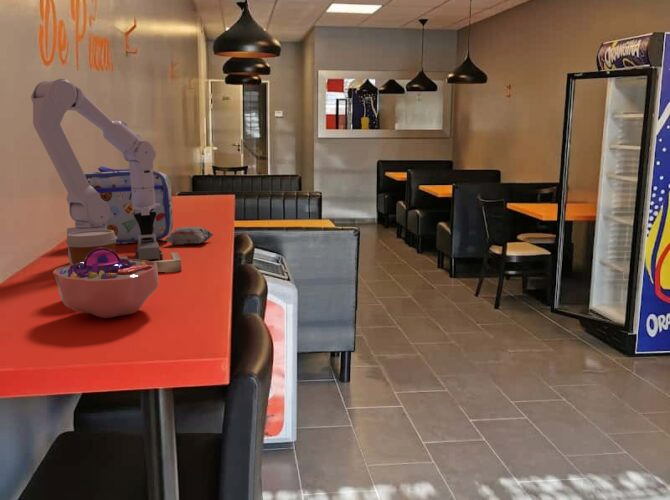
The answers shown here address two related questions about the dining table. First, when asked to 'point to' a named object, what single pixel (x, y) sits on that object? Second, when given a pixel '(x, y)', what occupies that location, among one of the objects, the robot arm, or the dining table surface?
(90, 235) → the disposable coffee cup
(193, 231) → the packaged food
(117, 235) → the lunch box
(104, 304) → the cell model
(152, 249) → the grey box with knobs
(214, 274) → the dining table surface
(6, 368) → the dining table surface
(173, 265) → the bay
